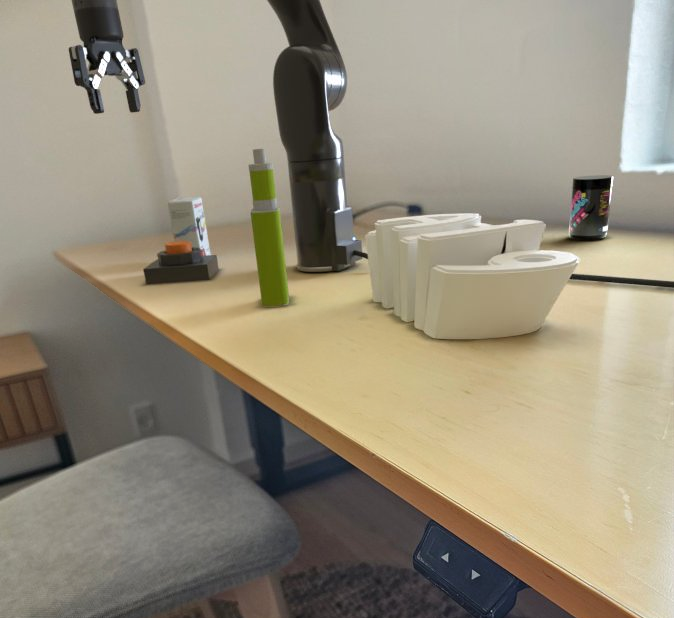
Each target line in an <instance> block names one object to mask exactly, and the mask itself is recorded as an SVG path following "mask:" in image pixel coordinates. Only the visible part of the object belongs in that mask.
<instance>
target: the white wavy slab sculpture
mask: <svg viewBox="0 0 674 618" xmlns="http://www.w3.org/2000/svg"><path fill="white" fill-rule="evenodd" d="M546 227H547V224H546V223H544V221H542V220H537V219H514V220H513V222H510V223H503V224H496V225H494V224H489V223H484V222H482V215H480V213H467V212H466V213H465V212H464V213H463V212H462V213H438V214H425V215H424V214H423V215H413V216H402V217H394V218H385V219H379V220H376V222H374V230H371V231H369V232H367V234H365V235H364V238H365V244H366V245H365V246H366V254H368V259H367V260H368V261H367V262H368V268H369V276H370V284H371V291H372V298H373V299H372V300H373V303H381V307H382V308H384V309H387V310H389V309H393V314H394V316H396V317H399V318H400V319H401V320H402V321H403V322H405V323H410V322H414V325H413V326H414V328H415V329H417V330H420V331H423V333H424V334H425V335H426V336H428V337H430V338H432V339H437V340H485V339H498V338H508V337H516V336H522V335H523V336H524V335H527V334H531V333H534V332H536V331H538V330H539V329H541V327H542V326H543V324H544V322H545V320H546V318H547V317H548V315H549V313H550V312H551V310H552V308H553V307H554V305H555V304H556V302H557V300H558V298H559V297H560V295H561V293H562V292H563V291H564V288H565V287H566V285H567V283H568V281H569V280H570V279H569V278H570V277H571V275H572V274H574V272H575V270H576V269H577V267H578V265H579V263H580V261H581V259H580V258H579V257H578V256H577V255H576V254H575V253H571V252H567V251H562V250H561V251H560V250H546V249H545V250H544V249H543V250H541V249H540V246H541V243H542V240H543V237H544V233H545V231H546Z"/></svg>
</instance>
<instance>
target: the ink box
mask: <svg viewBox="0 0 674 618" xmlns="http://www.w3.org/2000/svg"><path fill="white" fill-rule="evenodd" d="M202 198H203V197H202V196H195V197H194V196H193V197H176V198H174V199H171V200H168V201H167V208H168V212H169V213H168V214H169V217H170V224H171V228H172V235H173V240H174V241H173V242H176V241H190V242H191V247H197V248H200V249H201V252H202V256H208V255H212V254H211V247H210V243H209V242H210V241H209V237H208V230H207V225H206V218H205V213H204V212H205V211H204V206H203V199H202Z"/></svg>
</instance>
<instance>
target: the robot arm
mask: <svg viewBox="0 0 674 618" xmlns="http://www.w3.org/2000/svg"><path fill="white" fill-rule="evenodd" d="M266 1H267V3H268V4H269V6H270V7H271V9H272V10H273V12H274V13H275V15H276V17H277V18H278V20H279V22H280V24H281V27H282V29H283V31H284V34H285V36H286V39H287V43H288V46H287V47H285V48H284V49H283V50H282V51H281V52H280V53H279V54H278V56H277V58H276V61H275V63H274V67H273V72H272V73H273V75H272V88H273V100H274V106H275V113H276V117H277V118H276V119H277V126H278V133H279V139H280V142H281V144H282V146H283V148H284V150H285V153H286V159H287V161H286V162H287V169H288V179H289V190H290V198H291V199H290V200H291V201H290V202H291V210H292V211H291V213H292V219H293V231H294V241H295V242H294V243H295V251H296V252H295V253H296V261H297V263H296V266H297V270H298V271H300V272H305V273H325V272H339V271H342V270H344V269H347V268H349V267H351V266H354V265H356V262H357V261H360V260H363V259H366V260H368V253H367V252H363V241H362V239H356V237H355V234H354V217H353V215H354V214H353V208H352V207H351V206H348V203H347V201H348V200H347V199H348V198H347V186H346V184H347V183H346V169H345V167H346V166H345V154H344V144H343V140H342V139H341V137H339V136H338V135H337V134H336V133H335V131H334V130H333V128H332V125H331V121H330V114H329V112H331V111H334V110H335V109H337V108H338V107H339V106H340V105H341V104H342V103H343V100H344V99H345V95H346V93H347V88H348V75H347V69H346V65H345V62H344V59H343V56H342V54H341V51H340V49H339V47H338V44H337V41H336V40H335V36H334V34H333V32H332V29H331V26H330V24H329V22H328V19H327V17H326V14H325V12H324V9H323V6H322V3H321V0H266ZM71 4H72V9H73V13H74V18H75V22H76V27H77V31H78V36H79V39H80V41H81V42H83V45H82V44H77V45H72V46H69V47H68V54H69V55H68V56H69V60H70V65H71V70H72V75H73V76H72V77H73V82H74V84H75V85H76V86H77V87H81V88H84V89H85V90H86V93H87V99H88V103H89V107H90V109H91V111H92V113H93V114H95V115H99V114H104V113H105V108H104V103H103V99H102V94H101V89H98V88H99V86H100V83H101V79H102V78H103V77H104V76H109V77H115V78H116V79H117V80H118V81H120V82H121V84H122V86H124V88H125V89H126V90H125V95H126V100H127V106H128V110H129V112H130V113H139V112H140V111H141V100H140V96H139V87H141V86H144V85H145V84H146V79H145V73H144V71H143V65H142V61H141V56H140V52H139V50H138V48H137V47H136V48H135V47H134V48H129V49H125V48H124V45H123V39H124V35H125V34H124V31H123V26H122V21H121V14H120V9H119V6H118V0H71ZM86 60H87V62H88V65H87V62H86ZM569 280H572V281H586V282H597V283H609V284H610V283H611V284H623V285H634V286H645V287H646V286H647V287H658V288H659V287H660V288H670V289H671V288H672V289H674V280H673V281H672V280H661V279H649V278H648V279H646V278H635V277H624V276H623V277H622V276H621V277H620V276H609V275H597V274H584V273H583V274H582V273H572V275H571V277H570V278H569Z"/></svg>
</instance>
